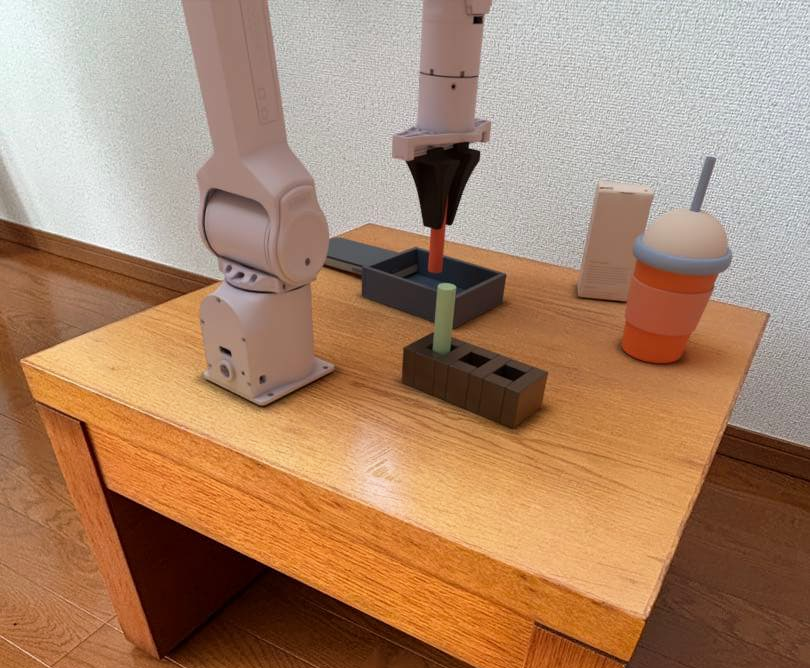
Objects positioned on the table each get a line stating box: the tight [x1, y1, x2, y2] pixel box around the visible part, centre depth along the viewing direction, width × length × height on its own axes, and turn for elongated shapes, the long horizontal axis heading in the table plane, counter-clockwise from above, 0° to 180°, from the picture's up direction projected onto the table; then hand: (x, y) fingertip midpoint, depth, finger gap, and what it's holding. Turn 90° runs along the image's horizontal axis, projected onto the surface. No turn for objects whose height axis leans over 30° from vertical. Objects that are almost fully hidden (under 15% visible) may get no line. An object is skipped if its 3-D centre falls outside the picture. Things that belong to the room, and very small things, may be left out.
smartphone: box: [324, 236, 417, 278], centre depth 84 cm, size 8×2×15 cm
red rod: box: [428, 199, 448, 273], centre depth 72 cm, size 2×2×9 cm
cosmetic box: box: [576, 180, 655, 302], centre depth 77 cm, size 6×4×12 cm
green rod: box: [433, 283, 456, 355], centre depth 59 cm, size 2×2×9 cm
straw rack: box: [401, 331, 549, 429], centre depth 59 cm, size 12×5×4 cm, turn 52°
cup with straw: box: [621, 156, 733, 364], centre depth 63 cm, size 9×9×18 cm
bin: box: [361, 246, 507, 330], centre depth 76 cm, size 13×10×3 cm
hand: (437, 225), depth 72 cm, fingers closed on red rod, 1 cm apart
